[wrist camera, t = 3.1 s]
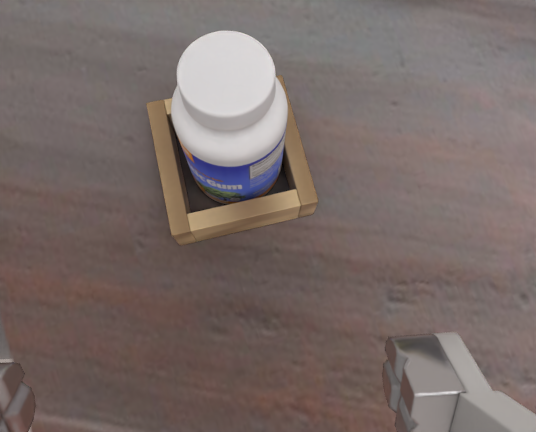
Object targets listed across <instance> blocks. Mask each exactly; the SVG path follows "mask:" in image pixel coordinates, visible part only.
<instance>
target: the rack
mask: <svg viewBox="0 0 536 432" xmlns="http://www.w3.org/2000/svg"><path fill="white" fill-rule="evenodd" d="M276 77H277V79H278V80H279V82H280V83H281V85H282V87H283V89H284V92H285V95H286V99H287V105H288V116H287V126H286V134H285V142H284V149H283V158H282V162H283V166H284V170H285V173H286V177H287V181H288V184H289V188H290V190H289V191H285V192H280V193H276V194H272V195H267V196H263V197H259V198H254V199H250V200H246V201H241V202H237V203H233V204H228V205H224V206H219V207H215V208H211V209H206V210H202V211H198V212H193V213H191V210H190V205H189V200H188V195H187V191H186V186H185V181H184V176H183V171H182V166H181V162H180V157H179V152H178V147H177V142H176V137H175V133H176V131H175V128H174V125H173V121H172V116H171V103H172V98H170V99H165V100H159V101H154V102H149V103H146V105H147V110H148V115H149V120H150V126H151V131H152V136H153V141H154V147H155V152H156V157H157V162H158V167H159V173H160V178H161V183H162V188H163V193H164V199H165V204H166V209H167V214H168V220H169V225H170V230H171V235H172V236H173V238H174V239H175V240H176V241H177V242H178V243H179V245H185V244H189V243H194V242H197V241H202V240H206V239H210V238H215V237H219V236H223V235H227V234H232V233H236V232H240V231H244V230H249V229H253V228H257V227H261V226H266V225H270V224H274V223H278V222H283V221H287V220H291V219H295V218H297V217H303V216H308V215H312V214H314V211H315V209H316V206H317V204H318V197H317V194H316V190H315V187H314V184H313V180H312V177H311V173H310V170H309V166H308V163H307V159H306V156H305V152H304V149H303V146H302V142H301V139H300V135H299V132H298V128H297V125H296V121H295V118H294V114H293V111H292V108H291V104H290V101H289V97H288V94H287V90H286V87H285V83H284V80H283V77H282V75H279V76H276Z"/></svg>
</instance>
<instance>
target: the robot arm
mask: <svg viewBox="0 0 536 432" xmlns="http://www.w3.org/2000/svg"><path fill="white" fill-rule="evenodd" d="M385 351H386V354H387V357H388V360H387V361H386V362H385V363H384V364H383V372H382V378H383V388H384V393H385V397H386V400H387V403H388V406H389V408H391V409H392V410H393V411H394V412H395V413H396V420H395V427H396V430H397V432H536V414H534V413H533V412H531V411H530V410H528V409H527V408H525V407H524V406H522V405H521V404H519V403H518V402H516V401H515V400H513V399H512V398H510V397H509V396H507V395H506V394H504V393H503V392H501V391H493V390H492V388H491V387H490V385H489V383H488V382H487V380H486V378H485V377H484V375H483V373H482V372H481V370H480V369H479V367H478V365H477V364H476V362H475V360H474V359H473V357H472V355H471V354H470V352H469V350H468V349H467V347H466V345H465V344H464V342H463V340H462V339H461V337H460V335H459V334H457V333H456V332H446V333H433V334H420V335H407V336H394V337H388V339H387V341H386V346H385ZM24 375H25V373H24V371H23V369H22V367H21V365H20V363H14V362H11V363H0V432H28V431H29V429H30V427H31V424H32V422H33V419H34V413H35V407H36V404H35V396H34V393H33V391H32V389H31V387H29V386H27V385H26V384H24V383H23V382H21V381H22V379H23V377H24Z"/></svg>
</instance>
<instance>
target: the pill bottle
mask: <svg viewBox="0 0 536 432" xmlns="http://www.w3.org/2000/svg"><path fill="white" fill-rule="evenodd" d="M177 83H178V85H177V87H176V89H175V91H174V94H173V98H172V103H171V116H172V121H173V125H174V128H175V131H176V134H177V136H178V139H179V142H180V144H181V147H182V149H183V152H184V154H185V157H186V159H187V162H188V165H189V167H190V170H191V172H192V175H193V177H194V180H195V181H196V183H197V185H198V186H199V188H200V189H201V190H202V191H203V192H204V193H205V194H206V195H207V196H208V197H210V198H211V199H213V200H215V201H217V202H220V203H223V204H227V205H228V204H233V203H237V202H241V201H246V200H250V199H254V198H259V197H263V196H264V195H265V194H267V193H268V192H269V191H270V190H271V189H272V187H273V186H274V184H275V183H276V181H277V179H278V176H279V174H280V171H281V167H282V158H283V149H284V142H285V134H286V126H287V116H288V105H287V99H286V95H285V92H284V89H283V87H282V85H281V83H280V82H279V80H278V79H277V77H276V76H275V66H274V63H273V60H272V57H271V56H270V54H269V52H268V51H267V49H266V48H265V47H264V46H263V45H262V44H261V43H260V42H259V41H257V40H256V39H254V38H252V37H251V36H249V35H246V34H244V33H240V32H236V31H217V32H213V33H209V34H206V35H204V36H202V37H200V38H198V39H197V40H195V41H194V42H193V43H191V44H190V45H189V46H188V47H187V49H186V50H185V51H184V53H183V54H182V56H181V58H180V60H179V63H178V67H177Z"/></svg>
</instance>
